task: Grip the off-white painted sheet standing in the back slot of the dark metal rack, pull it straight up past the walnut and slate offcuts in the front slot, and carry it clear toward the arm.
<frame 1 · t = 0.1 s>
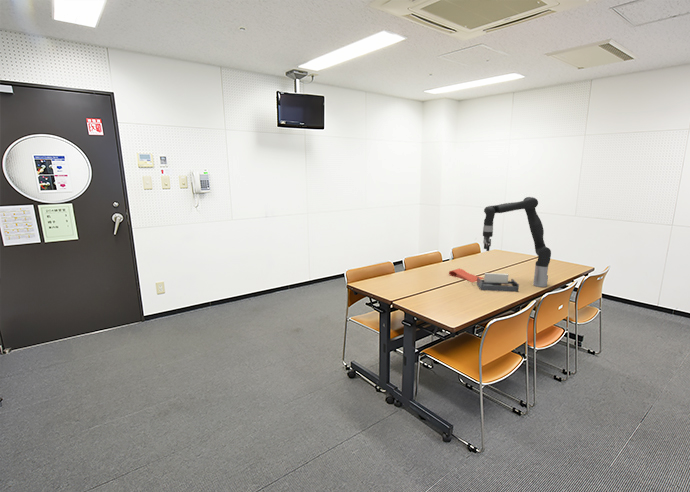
hand: (486, 249, 290), 29 cm above the table, fingers open, 8 cm apart
offcut a: (506, 290, 279), on the table, touching offcut b
offcut c: (488, 288, 281), on the table
offcut b: (506, 287, 279), point 2 cm above the table, touching offcut a
rack: (496, 287, 283), on the table
sheet 2: (466, 278, 313), on the table
sheet: (495, 286, 287), on the table
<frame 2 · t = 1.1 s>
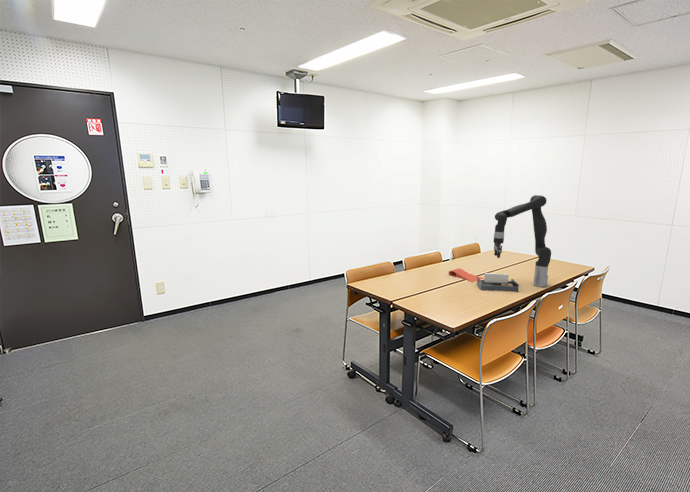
hand: (497, 256, 285), 25 cm above the table, fingers open, 8 cm apart
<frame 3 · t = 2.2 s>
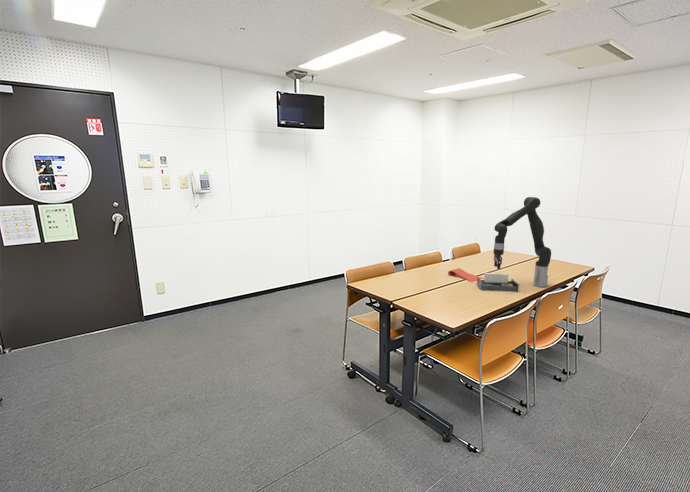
hand: (497, 267, 284), 16 cm above the table, fingers open, 8 cm apart
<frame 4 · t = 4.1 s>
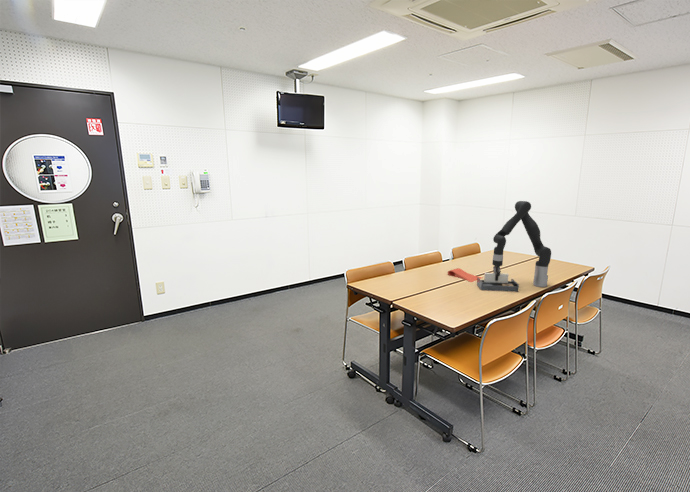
hand: (495, 279, 286), 6 cm above the table, fingers closed on sheet, 2 cm apart
sheet: (495, 286, 287), on the table, touching gripper
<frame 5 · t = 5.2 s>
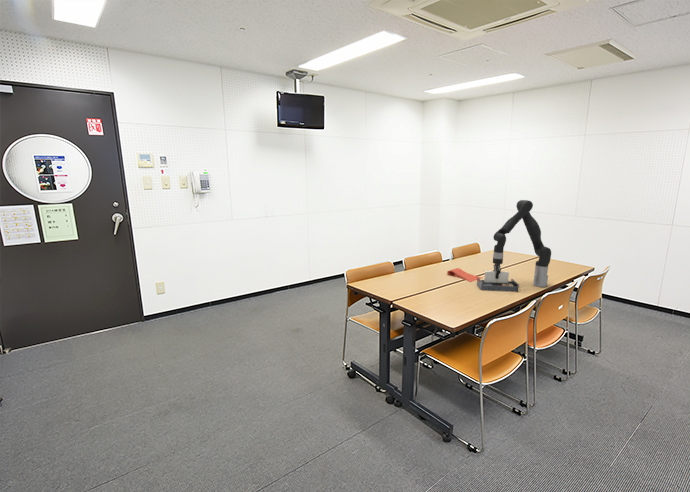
hand: (496, 277, 285), 7 cm above the table, fingers closed on sheet, 2 cm apart
sheet: (495, 284, 286), point 2 cm above the table, touching gripper
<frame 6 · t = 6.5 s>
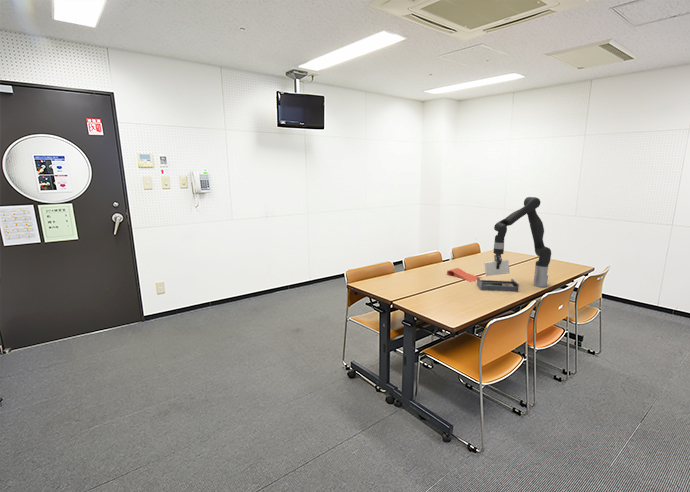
hand: (497, 268, 284), 15 cm above the table, fingers closed on sheet, 2 cm apart
sheet: (497, 274, 285), point 10 cm above the table, tilted 9°, touching gripper
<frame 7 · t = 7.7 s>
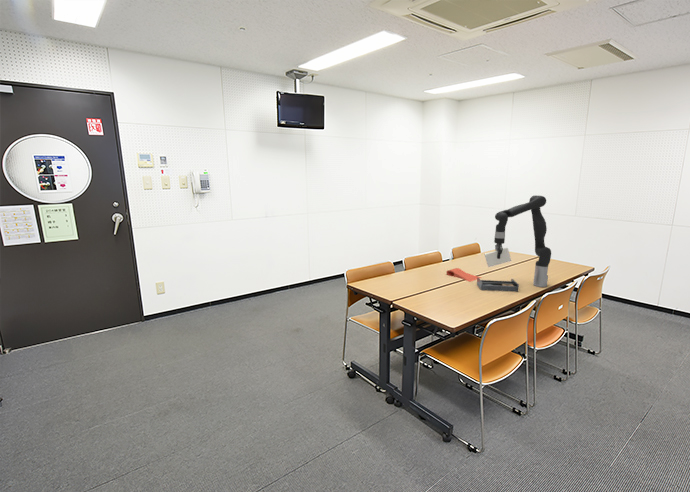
hand: (497, 258, 282), 24 cm above the table, fingers closed on sheet, 2 cm apart
sheet: (499, 263, 283), point 19 cm above the table, tilted 19°, touching gripper
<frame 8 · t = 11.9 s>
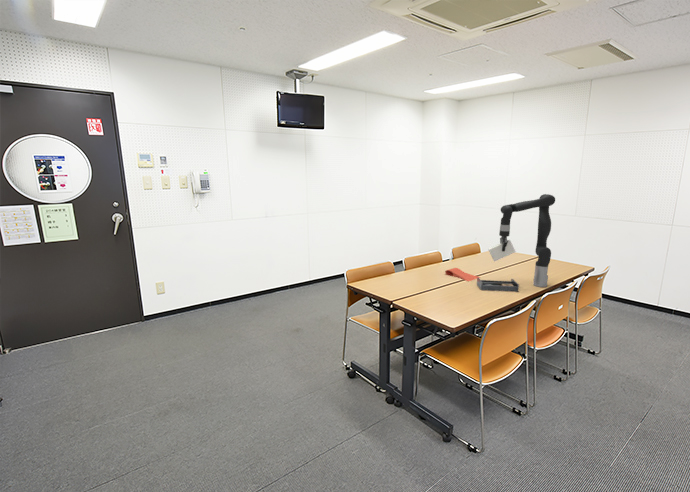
hand: (502, 250, 286), 29 cm above the table, fingers closed on sheet, 2 cm apart
sheet 2: (463, 277, 315), on the table
sheet: (504, 256, 287), point 24 cm above the table, tilted 28°, touching gripper
everything else where it was.
at the end: sheet inside the target area (2.8 cm from its centre), point 24.4 cm above the table; the gripper is holding sheet; offcut b moved 0.9 cm from its start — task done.
